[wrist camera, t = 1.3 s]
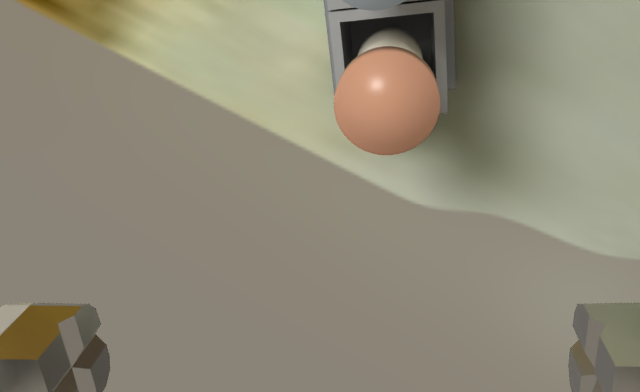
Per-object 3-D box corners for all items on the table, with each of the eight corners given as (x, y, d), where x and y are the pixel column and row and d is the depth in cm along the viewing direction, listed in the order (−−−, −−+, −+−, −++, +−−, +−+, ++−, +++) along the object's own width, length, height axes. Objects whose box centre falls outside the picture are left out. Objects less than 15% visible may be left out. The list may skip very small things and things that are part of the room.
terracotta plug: (428, 13, 28) (438, 47, 21) (432, 94, 30) (442, 151, 23) (346, 22, 29) (328, 57, 22) (353, 101, 31) (339, 158, 23)
